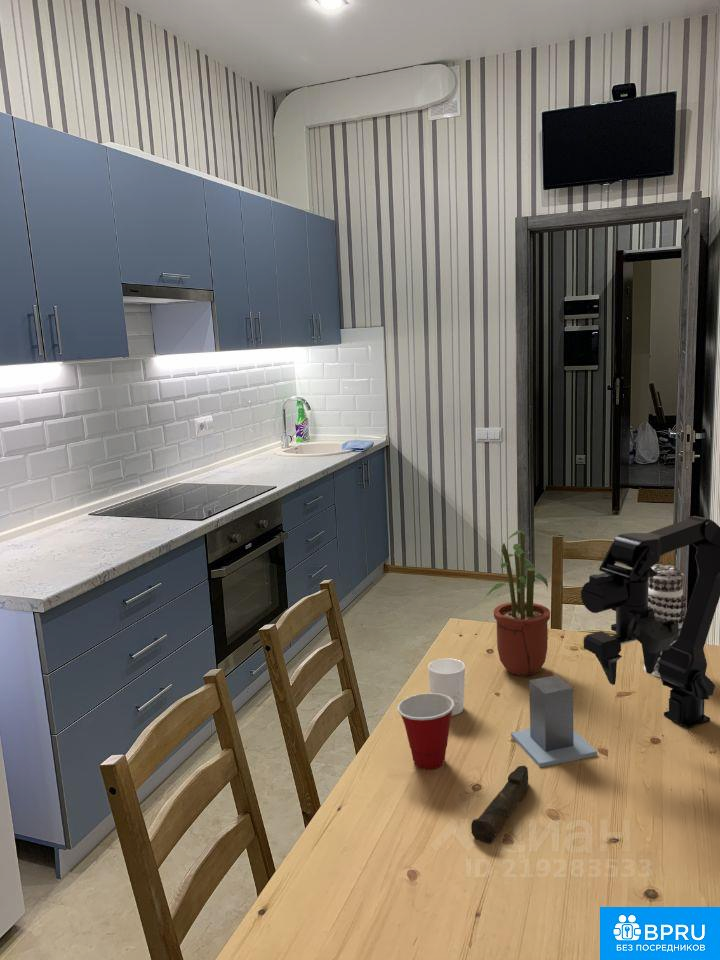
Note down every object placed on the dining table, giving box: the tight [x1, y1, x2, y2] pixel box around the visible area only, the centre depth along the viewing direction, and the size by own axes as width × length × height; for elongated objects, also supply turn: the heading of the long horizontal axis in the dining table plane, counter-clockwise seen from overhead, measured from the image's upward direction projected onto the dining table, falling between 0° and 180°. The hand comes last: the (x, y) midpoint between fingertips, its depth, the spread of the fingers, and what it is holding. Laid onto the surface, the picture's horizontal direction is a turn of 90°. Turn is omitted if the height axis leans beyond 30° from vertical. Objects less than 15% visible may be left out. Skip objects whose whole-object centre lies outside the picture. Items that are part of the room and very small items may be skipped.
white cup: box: [427, 657, 466, 717], centre depth 163 cm, size 8×8×10 cm
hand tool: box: [470, 765, 529, 844], centre depth 127 cm, size 19×4×5 cm, turn 143°
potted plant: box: [482, 530, 551, 676], centre depth 180 cm, size 17×16×35 cm
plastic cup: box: [397, 692, 454, 771], centre depth 143 cm, size 11×11×12 cm
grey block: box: [529, 674, 574, 752], centre depth 146 cm, size 6×6×12 cm
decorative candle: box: [643, 564, 687, 678], centre depth 175 cm, size 9×9×25 cm
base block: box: [510, 728, 598, 768], centre depth 147 cm, size 12×12×4 cm
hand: (630, 678), depth 145 cm, fingers open, 9 cm apart
